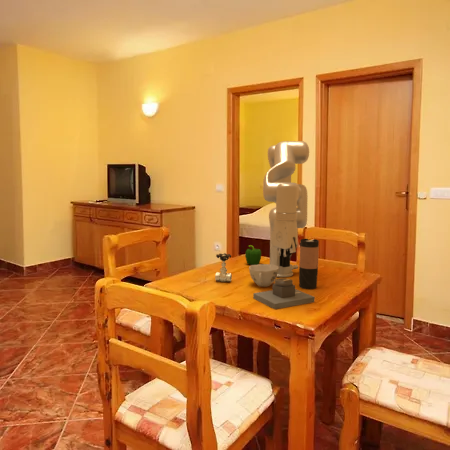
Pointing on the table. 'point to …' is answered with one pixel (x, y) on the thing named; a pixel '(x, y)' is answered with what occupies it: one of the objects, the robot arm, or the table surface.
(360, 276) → the table surface
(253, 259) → the bell pepper
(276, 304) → the hub plate
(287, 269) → the robot arm
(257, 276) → the teacup
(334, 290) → the table surface
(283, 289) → the knob
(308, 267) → the travel mug
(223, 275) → the valve
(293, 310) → the table surface
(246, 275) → the table surface
